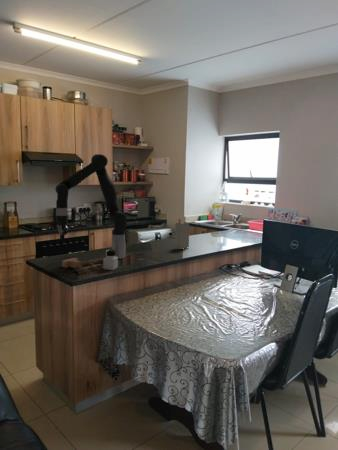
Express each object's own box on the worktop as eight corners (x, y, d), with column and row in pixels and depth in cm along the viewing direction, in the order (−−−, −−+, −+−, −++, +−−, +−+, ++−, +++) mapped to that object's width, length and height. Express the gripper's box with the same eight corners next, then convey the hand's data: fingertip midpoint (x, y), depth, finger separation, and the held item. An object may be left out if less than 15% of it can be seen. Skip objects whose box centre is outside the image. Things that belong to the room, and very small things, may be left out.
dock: (93, 266, 232) (93, 262, 232) (102, 268, 227) (102, 264, 227) (72, 271, 219) (72, 267, 218) (80, 274, 214) (80, 269, 213)
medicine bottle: (117, 267, 232) (118, 249, 230) (113, 270, 225) (113, 251, 223) (107, 266, 233) (107, 248, 231) (103, 269, 226) (103, 250, 225)
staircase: (188, 248, 296) (189, 218, 292) (179, 250, 288) (180, 219, 284) (181, 247, 301) (182, 217, 297) (172, 249, 293) (173, 218, 289)
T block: (74, 263, 238) (74, 257, 238) (85, 266, 232) (85, 260, 231) (62, 266, 230) (62, 260, 230) (72, 269, 224) (72, 263, 223)
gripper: (73, 215, 232) (73, 241, 234) (60, 213, 240) (60, 238, 242) (63, 216, 226) (63, 242, 228) (51, 214, 234) (51, 239, 236)
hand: (62, 240), depth 235 cm, fingers closed
